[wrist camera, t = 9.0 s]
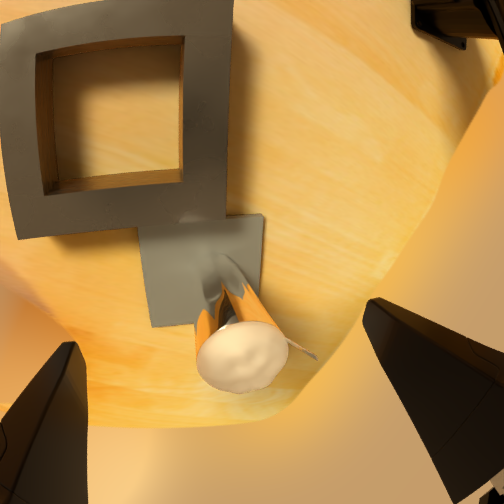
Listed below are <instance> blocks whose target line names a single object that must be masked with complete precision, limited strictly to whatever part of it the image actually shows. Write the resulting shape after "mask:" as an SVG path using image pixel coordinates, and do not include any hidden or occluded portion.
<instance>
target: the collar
mask: <svg viewBox="0 0 504 504" xmlns="http://www.w3.org/2000/svg"><path fill="white" fill-rule="evenodd" d="M233 5H234V0H103V1H96V2H90V3H84V4H78V5H73V6H68V7H63V8H58V9H54V10H49V11H45V12H41V13H37V14H34V15H30V16H26V17H23V18H20V19H16V20H13V21H10V22H7V23H4V24H1V33H0V138H1V148H2V157H3V165H4V172H5V179H6V185H7V191H8V197H9V202H10V207H11V212H12V217H13V221H14V226H15V230H16V234H17V238H18V240H22V239H30V238H38V237H46V236H55V235H64V234H72V233H82V232H91V231H101V230H111V229H121V228H131V227H142V226H153V225H165V224H177V223H189V222H202V221H215V220H226V187H227V145H228V113H229V86H230V62H231V41H232V22H233ZM174 44H181V50H180V79H179V169H168V170H154V171H142V172H131V173H121V174H111V175H102V176H93V177H85V178H77V179H69V180H62V181H59V177H58V169H57V159H56V149H55V136H54V120H53V58H57V57H62V56H68V55H73V54H79V53H85V52H92V51H99V50H107V49H115V48H125V47H136V46H151V45H174Z"/></svg>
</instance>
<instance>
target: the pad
mask: <svg viewBox="0 0 504 504" xmlns="http://www.w3.org/2000/svg"><path fill="white" fill-rule="evenodd" d="M263 219H264V216H263V215H262V214H249V215H234V216H226V220H215V221H202V222H189V223H177V224H165V225H153V226H142V227H137V228H138V237H139V246H140V254H141V262H142V269H143V276H144V283H145V290H146V296H147V302H148V308H149V314H150V320H151V325H152V328H153V327H163V326H173V325H182V324H191V323H194V317H193V306H192V296H191V285H190V271H191V270H192V268H193V266H194V264H195V262H196V261H197V260H198V259H200V258H202V257H204V256H206V255H208V254H210V253H212V254H223V255H226V256H227V257H228V258H230V259H231V260H232V261H233V262H234V263H235V264H236V265H237V267H238V268H239V270H240V271H241V273H242V274H243V276H244V277H245V279H246V281H247V282H248V284H249V285H250V287H251V288H252V290H253V291H254V293H255V294H256V296H257V297H258V295H259V280H260V265H261V250H262V235H263Z"/></svg>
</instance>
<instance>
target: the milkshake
mask: <svg viewBox="0 0 504 504" xmlns="http://www.w3.org/2000/svg"><path fill="white" fill-rule="evenodd" d="M190 285H191V296H192V306H193V317H194V333H195V348H196V362H197V369H198V372H199V374H200V376H201V377H202V378H203V379H204V380H205V381H206V382H207V383H208V384H209V385H211V386H212V387H214V388H216V389H218V390H222V391H227V392H231V393H236V394H241V393H246V392H250V391H253V390H258V389H263V388H265V387H267V386H269V385H270V384H271V383H272V381H273V380H274V378H275V377H276V376H277V374H278V373H279V372H280V370H281V369H282V368H283V367H284V365H285V364H286V361H287V358H288V353H289V348H288V343H289V344H291V345H292V346H294V347H295V348H297V349H299V350H300V351H302V352H304V353H305V354H307V355H309V356H310V357H312V358H314V359H315V360H317V361H318V358H317V356H316V355H315V354H313V353H312V352H310V351H308V350H307V349H305V348H303V347H302V346H300V345H298V344H297V343H295V342H293V341H292V340H290V339H288V338H287V337H285V336H284V334H283V333H282V332H281V330H280V329H279V327H278V326H277V325H276V323H275V322H274V320H273V319H272V318H271V316H270V315H269V314H268V312H267V311H266V309H265V308H264V307H263V305H262V304H261V302H260V301H259V299H258V297H257V296H256V294H255V293H254V291H253V290H252V288H251V287H250V285H249V284H248V282H247V281H246V279H245V277H244V276H243V274H242V273H241V271H240V270H239V268H238V267H237V265H236V264H235V263H234V262H233V261H232V260H231V259H230V258H228V257H227V256H226V255H223V254H212V253H210V254H208V255H206V256H204V257H202V258H200V259H198V260H197V261H196V262H195V264H194V266H193V268H192V270H191V271H190Z"/></svg>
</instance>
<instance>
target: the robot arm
mask: <svg viewBox="0 0 504 504" xmlns="http://www.w3.org/2000/svg"><path fill="white" fill-rule="evenodd" d="M417 23H418V25H417ZM411 24H412V26H413V28H414V29H416V30H418V31H420V32H423V33H425V34H427V35H430V36H432V37H434V38H436V39H438V40H441V41H443V42H445V43H447V44H449V45H451V46H453V47H455V48H457V49H459V50H466V38H481V39H496V40H499V42H500V45H501V48H502V51H503V54H504V0H411ZM362 322H363V326H364V328H365V331H366V333H367V335H368V337H369V340H370V342H371V344H372V346H373V349H374V351H375V353H376V356H377V357H378V360H379V362H380V364H381V366H382V368H383V369H384V371H385V373H386V375H387V376H388V378H389V380H390V382H391V384H392V385H393V387H394V389H395V391H396V393H397V395H398V396H399V398H400V400H401V402H402V403H403V405H404V407H405V409H406V411H407V413H408V415H409V416H410V418H411V420H412V422H413V424H414V426H415V428H416V430H417V432H418V434H419V435H420V438H421V439H422V441H423V443H424V445H425V447H426V449H427V451H428V453H429V455H430V457H431V458H432V461H433V463H434V465H435V467H436V469H437V471H438V473H439V475H440V477H441V480H442V481H443V484H444V486H445V488H446V490H447V492H448V494H449V496H450V498H451V500H452V502H453V504H457V503H459V502H460V501H462V500H463V499H465V498H466V497H468V496H469V495H470V494H472V493H473V492H474V491H476V490H477V489H479V488H480V487H481V486H483V485H484V484H485V483H486V482H488V481H489V480H490V481H491V483H492V484H493V486H494V487H492V488H491V489H490V490H489V491H488V492H487V493H486V494H484V495H483V496H482V497H481V498H480V500H479V504H504V353H503V352H500V351H497V350H495V349H492V348H490V347H487V346H485V345H483V344H481V343H478V342H476V341H474V340H472V339H470V338H466V337H465V336H463V335H461V334H459V333H457V332H455V331H452V330H450V329H448V328H446V327H444V326H442V325H439V324H437V323H435V322H433V321H431V320H428V319H426V318H424V317H422V316H420V315H418V314H415V313H413V312H411V311H409V310H407V309H404V308H402V307H400V306H398V305H396V304H393V303H391V302H389V301H387V300H385V299H382V298H380V297H378V298H374V299H370V300H368V302H367V304H366V308H365V312H364V315H363V320H362ZM87 432H88V401H87V374H86V363H85V360H84V358H83V355H82V353H81V351H80V348H79V346H78V344H77V343H76V342H75V341H71V342H63V343H62V344H61V345H60V346H59V347H58V348H57V350H56V351H55V352H54V353H53V354H52V356H51V357H50V358H49V359H48V361H47V362H46V363H45V364H44V365H43V367H42V368H41V369H40V370H39V372H38V373H37V374H36V375H35V376H34V378H33V379H32V380H31V381H30V383H29V384H28V385H27V387H26V388H25V389H24V390H23V392H22V393H21V394H20V396H19V397H18V398H17V399H16V401H15V402H14V403H13V405H12V406H11V407H10V409H9V410H8V411H7V413H6V414H5V416H4V417H3V418H2V420H1V422H0V504H88V490H87V489H88V488H87Z"/></svg>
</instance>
